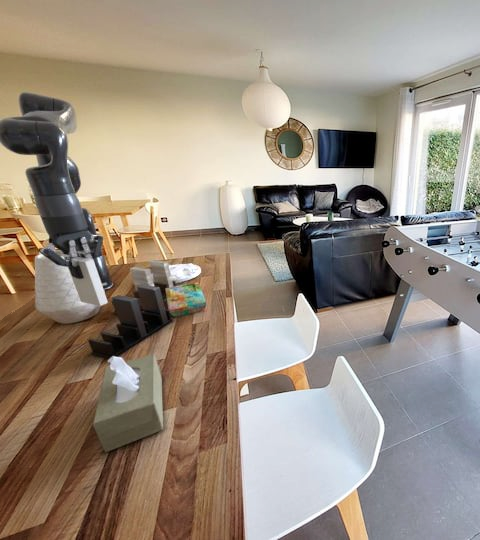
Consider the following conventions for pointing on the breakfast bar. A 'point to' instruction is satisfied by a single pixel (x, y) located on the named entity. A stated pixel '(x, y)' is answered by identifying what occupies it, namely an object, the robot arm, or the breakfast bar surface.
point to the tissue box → (129, 402)
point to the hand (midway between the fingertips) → (84, 276)
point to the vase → (59, 293)
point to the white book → (89, 283)
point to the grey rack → (133, 322)
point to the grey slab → (144, 277)
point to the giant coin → (183, 272)
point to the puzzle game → (185, 299)
